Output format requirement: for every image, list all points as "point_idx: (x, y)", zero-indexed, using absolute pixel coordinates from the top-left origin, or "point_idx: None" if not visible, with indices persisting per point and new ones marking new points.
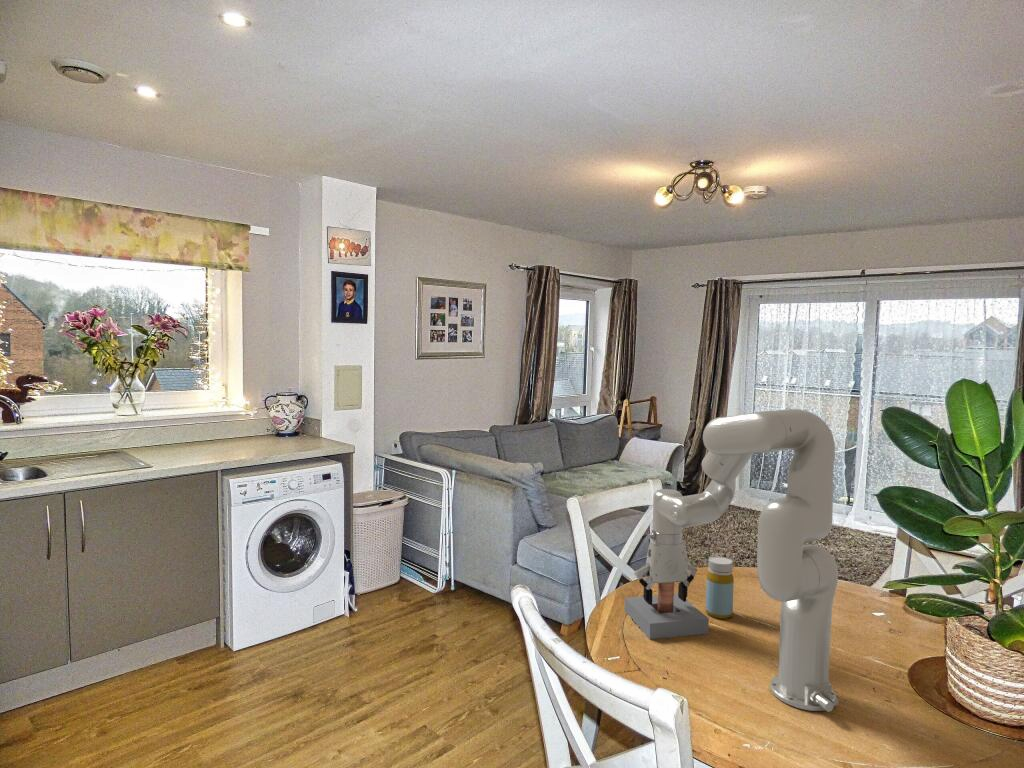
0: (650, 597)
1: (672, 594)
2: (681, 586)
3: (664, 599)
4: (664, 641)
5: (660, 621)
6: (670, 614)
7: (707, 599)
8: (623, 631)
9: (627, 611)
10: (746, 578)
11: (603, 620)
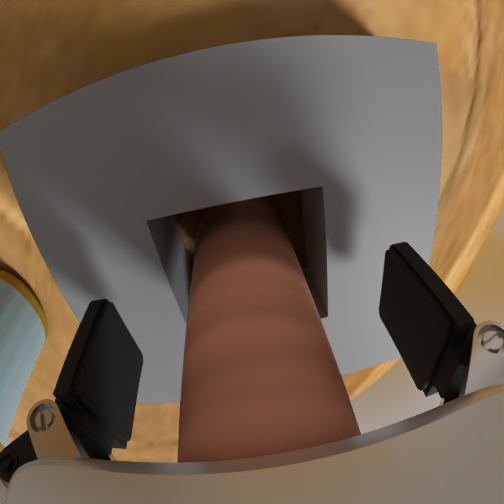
0: (433, 273)
1: (204, 330)
2: (104, 415)
3: (288, 285)
4: (314, 15)
5: (364, 54)
6: (242, 169)
7: (17, 348)
8: (458, 149)
9: None
10: (12, 429)
11: (473, 246)
